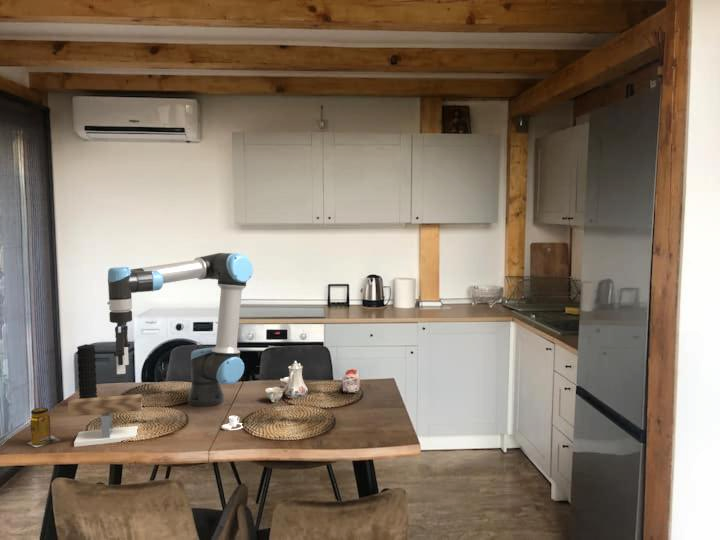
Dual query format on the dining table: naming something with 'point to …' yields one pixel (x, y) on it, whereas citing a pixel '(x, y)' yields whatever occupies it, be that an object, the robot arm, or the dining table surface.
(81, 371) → the handle grip
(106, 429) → the steel ridge
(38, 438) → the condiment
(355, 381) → the food item
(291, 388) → the chinaware
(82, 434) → the white board
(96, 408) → the walnut batten
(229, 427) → the teacup and saucer
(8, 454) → the dining table surface
